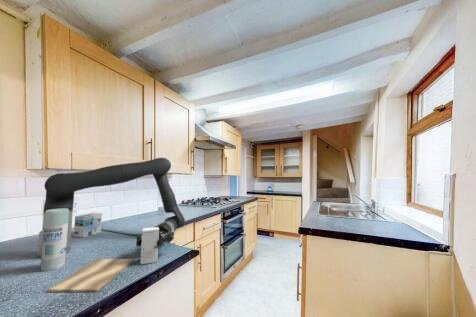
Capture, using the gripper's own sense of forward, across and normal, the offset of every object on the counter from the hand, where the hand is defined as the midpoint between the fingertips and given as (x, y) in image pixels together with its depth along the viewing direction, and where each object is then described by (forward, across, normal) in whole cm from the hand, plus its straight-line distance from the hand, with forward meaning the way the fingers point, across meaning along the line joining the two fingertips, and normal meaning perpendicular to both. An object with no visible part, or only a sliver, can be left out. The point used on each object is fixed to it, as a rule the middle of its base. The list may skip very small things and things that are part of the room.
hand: (147, 243), depth 74 cm
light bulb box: (-35, -48, +7) cm, 60 cm away
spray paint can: (+3, -32, +7) cm, 33 cm away
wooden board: (+8, -13, +7) cm, 17 cm away
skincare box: (-2, 0, +7) cm, 7 cm away
